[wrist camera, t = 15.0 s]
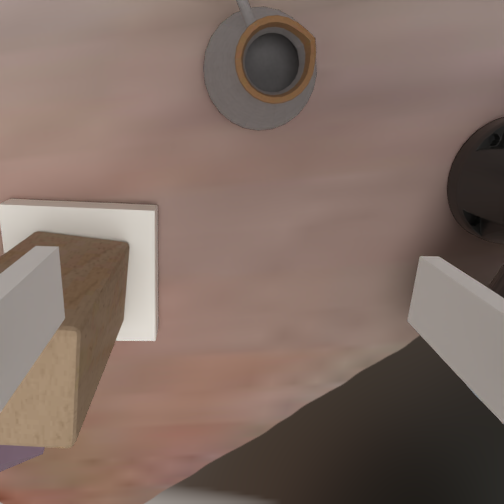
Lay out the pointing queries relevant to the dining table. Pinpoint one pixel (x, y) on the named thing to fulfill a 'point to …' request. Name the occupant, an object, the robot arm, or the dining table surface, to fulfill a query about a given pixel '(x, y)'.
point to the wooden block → (69, 341)
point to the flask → (17, 455)
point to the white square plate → (100, 227)
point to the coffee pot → (260, 67)
